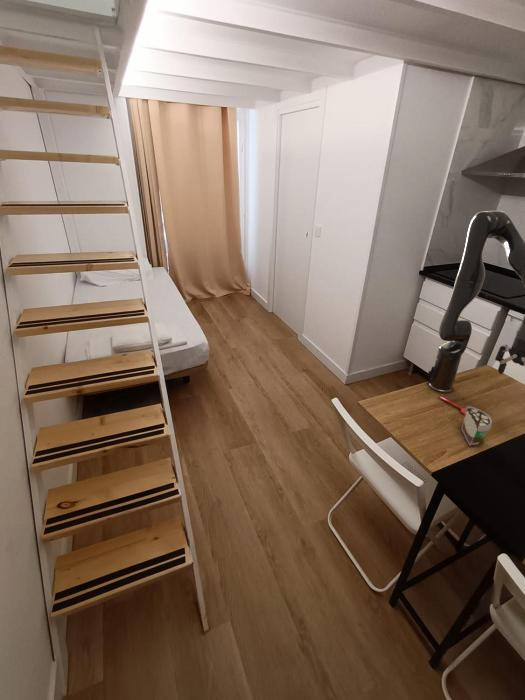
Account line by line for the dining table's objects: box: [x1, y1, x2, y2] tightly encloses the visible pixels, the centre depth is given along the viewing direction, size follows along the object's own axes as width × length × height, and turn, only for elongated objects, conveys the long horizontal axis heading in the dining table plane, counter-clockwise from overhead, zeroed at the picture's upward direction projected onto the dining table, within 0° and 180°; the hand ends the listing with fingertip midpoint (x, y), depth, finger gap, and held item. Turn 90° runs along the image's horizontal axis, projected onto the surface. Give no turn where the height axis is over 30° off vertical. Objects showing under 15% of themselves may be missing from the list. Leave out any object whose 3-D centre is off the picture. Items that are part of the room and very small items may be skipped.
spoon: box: [439, 396, 467, 416], centre depth 139 cm, size 14×4×1 cm, turn 29°
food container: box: [461, 405, 493, 447], centre depth 120 cm, size 12×6×10 cm, turn 168°
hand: (513, 378), depth 117 cm, fingers open, 8 cm apart
